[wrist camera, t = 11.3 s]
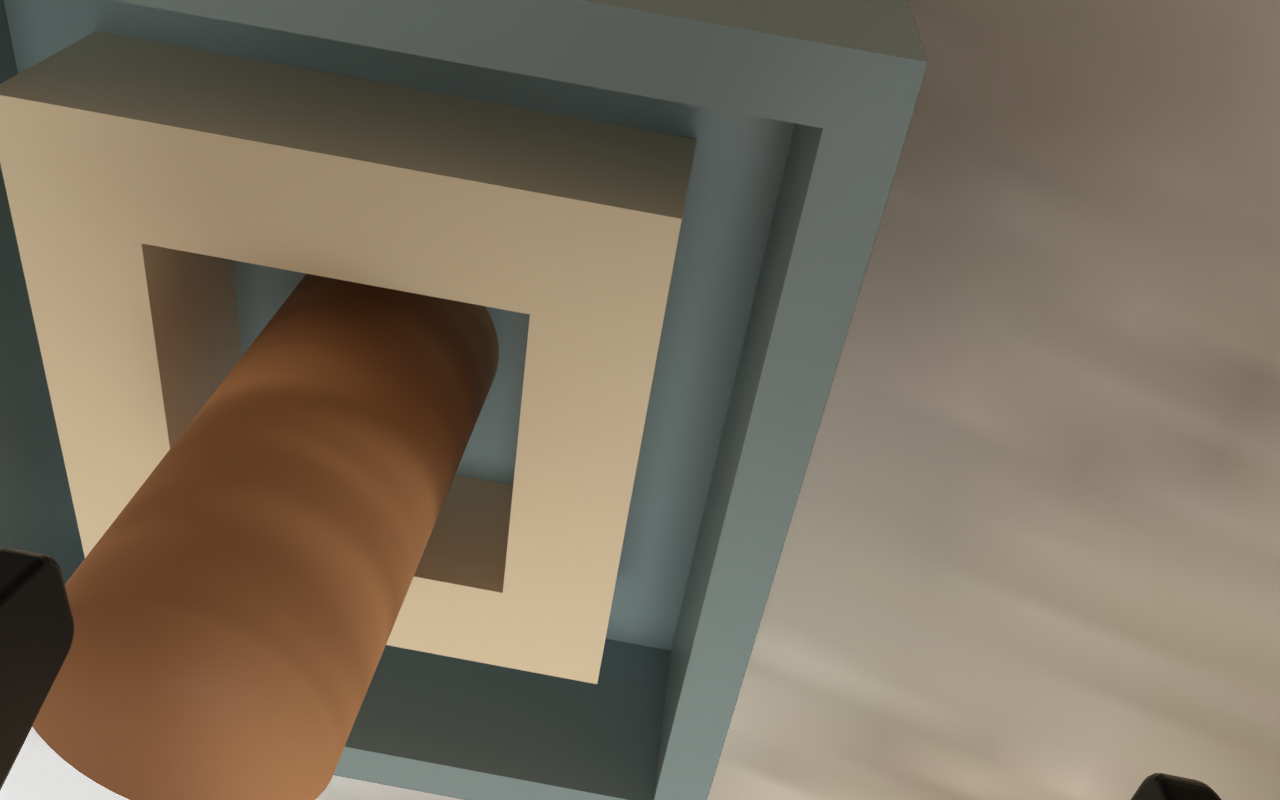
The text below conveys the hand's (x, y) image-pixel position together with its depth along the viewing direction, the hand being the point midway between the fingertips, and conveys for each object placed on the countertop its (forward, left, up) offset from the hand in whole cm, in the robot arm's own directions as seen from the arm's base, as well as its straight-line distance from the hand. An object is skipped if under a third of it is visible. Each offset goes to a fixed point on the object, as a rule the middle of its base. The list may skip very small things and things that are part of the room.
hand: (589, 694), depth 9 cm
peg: (+5, +5, -11) cm, 13 cm away
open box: (+5, +5, -12) cm, 13 cm away
